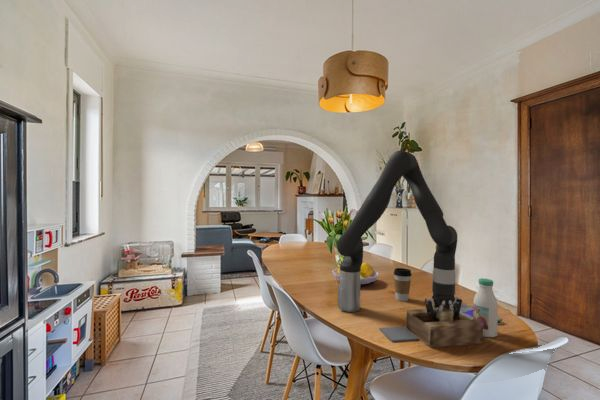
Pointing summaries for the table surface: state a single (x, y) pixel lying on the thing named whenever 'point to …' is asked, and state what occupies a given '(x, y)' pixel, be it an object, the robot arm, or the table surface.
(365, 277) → the fruit bowl
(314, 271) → the table surface
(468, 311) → the dish towel
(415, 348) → the table surface
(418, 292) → the table surface
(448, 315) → the maple block
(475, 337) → the walnut box
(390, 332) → the slate pad
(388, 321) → the table surface
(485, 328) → the milk bottle
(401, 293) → the coffee cup
